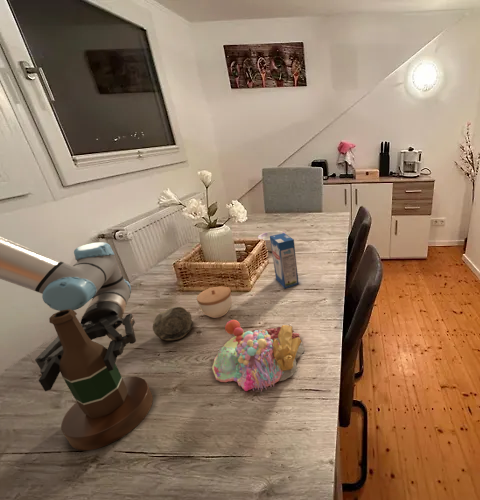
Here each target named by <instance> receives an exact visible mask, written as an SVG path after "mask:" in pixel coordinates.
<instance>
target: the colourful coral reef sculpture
mask: <svg viewBox="0 0 480 500" xmlns="http://www.w3.org/2000/svg"><path fill="white" fill-rule="evenodd" d="M224 328H225V329H224V330H225V332H226V333H227V334H229V335H233V337H231V338H229V339H228V341H226V342H225V343H224V344H223V345H222V346H221V347H219V349H218V351H217V354H216V356H215V357H214V359H213V363H212V366H211V369H212V372H213V375H214V377H215V380H216V381H218V382H220V383H227V382H236V383H237V385H238V387H241V388H242V390H243V391H245V392H248V391H250V390H252V391H253V392H255V390H257V391H259V390H260V392H263V390H264V388H265V390H266V391H267V390H268V388H269V386H270V387H272V386H275V384H276V383H277V382H281V381H286V380H287V379H289V378H291V377H292V376H293V375H294V374H295V373H297V371H298V366H297V363H298V362H297V361H296V360H297V359H298V358H300V357H301V355H303V354H304V350H305V347H304V343H303V342H302V340H301V339H300V337H301V335H300V333H297V332H295V331H294V330H293V326H291V325H288V324H284V325H281V326H277V327H275V328H266V329H259V328H255V329H251V330H247V331H244V329H243V328H242V327H241V323H240V322H239V321H238V320H236V319H231V320H229V321H227V322H226V324H225V326H224Z"/></svg>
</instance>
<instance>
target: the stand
mask: <svg viewBox="0 0 480 500" xmlns="http://www.w3.org/2000/svg"><path fill="white" fill-rule="evenodd" d="M122 379H123V381H124V383H125V385H126V388H127V391H128V393H127V396H126V398H125V401H124V403H123V404H122V405H121V406H119V407H118V408H117V409H115V410H114V411H113V412H112V413H110V414H108V415H105V416H101V417H98V418H95V419H93V418H91V417H89V416H87V415H86V414H84V412H83V411H82V410H81V408H80V407H79V405H78V403H77V401H76V402H75V403H73V405H72V406H71V407H70V408H69V409H68V410H67V412H66V414H64V417H63V419H62V420H61V425H60V429H61V432H62V434H63V435H64V437H65V438H66V440H67V442H68V443H69V445H70V446H71V447H72V448H73V449H75V450H77V451H92V450H97V449H100V448H103V447H106V446H108V445H110V444H112V443H114V442H116V441H118V440H120V439H121V438H123V437H125V436H126V435H127V434H129V433H130V432H132V431H133V430H135V428H136V427H138V426H139V425H140V424H141V422H142V421H144V419H145V418H146V416H147V415H148V414H149V412H150V410H151V408H152V405H153V401H154V398H153V394H152V392H151V389H150V387H149V384H148V382H147V381H146V379H144V378H142V377H139V376H124V377H122Z"/></svg>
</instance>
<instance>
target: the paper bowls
mask: <svg viewBox="0 0 480 500" xmlns="http://www.w3.org/2000/svg"><path fill="white" fill-rule="evenodd" d="M282 233H285V234H286V235H287V232H285V231H282V230H271V231H266V232H263V233H260V234H258V236H257V240H258V239H264V240H265V241H266V247H267V250H268V251H267V252H272V248H271V241H270V236H273V235H277V234H282Z"/></svg>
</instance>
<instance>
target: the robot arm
mask: <svg viewBox="0 0 480 500" xmlns="http://www.w3.org/2000/svg"><path fill="white" fill-rule="evenodd" d="M73 254H74V260H76V262H75V263H74V264H73V265H71V264H68V263H66V262H64V261H61V260H59V259H56V258H54V257H51V256H50V255H49V256H48V255H46V254H45V253H42V252H39V251H37V250H35V249H32V248H30V247H27V246H25V245H22V244H20V243H17V242H15V241H13V240H10V239H9V238H8V239H7V238H5V237H2V236H0V280H1V281H5V282H8V283H10V284H14V285H16V286H19V287H22V288H25V289H28V290H30V291H34V292H36V293H39V294H41V298H42V301H43V303H44V304H46V305H47V306H48V307H49V308H50V309H52V310H55V311H57V312H59V311H62V310H68V309H71V310H74V311H77V310H79V309H81V308H83V307H84V306H85V305H86V304H87V303H88V302H90V303H89V304H88V306H87V307H86V310H85V311H84V313H83V315H82V317H81V320H80V324H81V326H82V327H83V329H84V331H85V332H86V334H87V335H88V337H89V338H90V339H91V340H92V341H93V340H95V339H97V338H102V337H103V338H104V337H106V336H107V337H108V339H110V340H109V344H108V347H107V348H106V349H107V352H106V355H105V358H104V363H105V365H106V367H107V369H108V371H111V370H113V369H114V365H115V364H116V361H117V359H118V357H119V356H121V355H123V352H124V349H125V347H126V346H127V345H128V344H134V343H136V342H137V339H136V333H135V329H134V325H135V323H136V321H135V318H134V315H133V314H132V313H127V314H126V315H125V317H124V313H125V310H126V307H127V304H128V302H129V300H130V299H131V298H130V297H131V295H132V286H131V283H130V282H129V281H127V279H125V278H124V276H123V274H122V271H121V269H120V267H119V266H120V265H119V263H118V260H117V257H116V254H115V252H114V251H113V248H112V246H111V244H109V243H108V242H105V241H104V242H103V241H99V242H92V243H87V244H83V245H80V246H78V247H76V248H75V249H74V250H73ZM120 326H124V331H125V335H124V336H123V335H122V333H120V332H118V331H117V329H118V328H119V327H120ZM63 353H64V352H63V347H62V344H61V342H60V339H59V337H58V335H57V336H56V338H55V339H53V341H52V342H51V343H50V344H49V345H48V346H46V348H44V349H43V351H41V353H40V354H39V355H38V356H37V357H36V358H35V359H34V361H35V363H36V364H37V366H38V367H39V369H40V371H39V373H40V374H41V375H40V377H39V379H38V382H39V384H40V385H41V387H42V389H43V390H44V392H48V391H51V390H52V388H53V386H54V385H55V383H56V381H57V378H58V377H59V374H61V372H60V370H59V368H60V360H61V358H62V356H63Z"/></svg>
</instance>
